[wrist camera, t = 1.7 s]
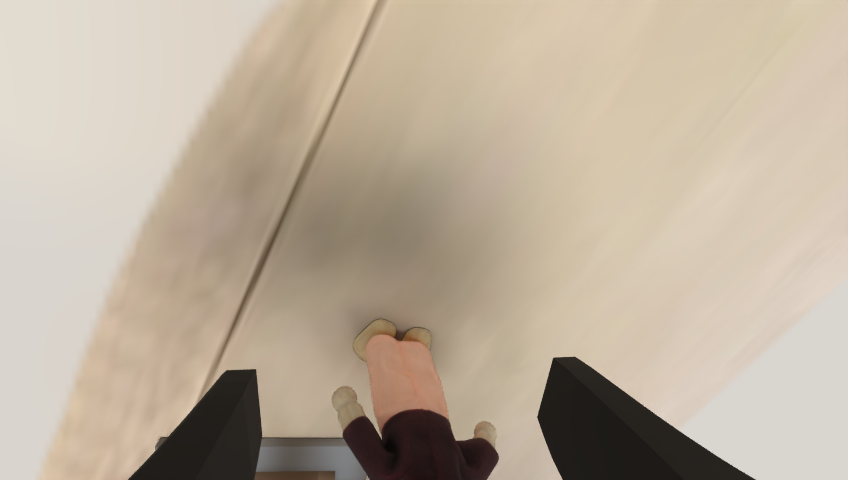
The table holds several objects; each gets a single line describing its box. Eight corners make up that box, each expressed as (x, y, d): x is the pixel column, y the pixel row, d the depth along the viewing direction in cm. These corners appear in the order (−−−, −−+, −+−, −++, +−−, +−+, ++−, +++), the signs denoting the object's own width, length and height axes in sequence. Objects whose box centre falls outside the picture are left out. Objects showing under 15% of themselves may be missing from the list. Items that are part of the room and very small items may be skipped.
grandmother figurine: (331, 368, 23) (302, 669, 11) (340, 310, 21) (318, 579, 10) (458, 377, 24) (552, 645, 13) (473, 323, 23) (593, 566, 11)
